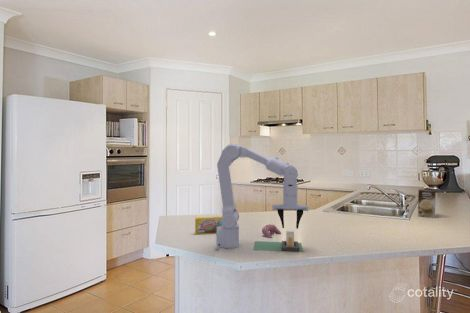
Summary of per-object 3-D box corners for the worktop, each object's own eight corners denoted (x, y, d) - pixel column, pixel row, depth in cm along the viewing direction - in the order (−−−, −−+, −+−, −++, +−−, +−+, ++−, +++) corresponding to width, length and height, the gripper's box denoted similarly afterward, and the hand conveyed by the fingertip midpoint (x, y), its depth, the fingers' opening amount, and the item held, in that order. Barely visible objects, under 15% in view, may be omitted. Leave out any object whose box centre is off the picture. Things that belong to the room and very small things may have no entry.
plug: (286, 250, 124) (286, 234, 124) (286, 246, 129) (286, 231, 129) (294, 250, 124) (294, 234, 124) (293, 246, 129) (293, 231, 129)
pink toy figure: (275, 237, 151) (270, 224, 153) (282, 235, 148) (277, 221, 150) (264, 242, 143) (258, 228, 145) (271, 239, 141) (266, 225, 142)
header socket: (281, 251, 123) (281, 247, 123) (281, 244, 132) (281, 240, 132) (299, 252, 122) (299, 248, 122) (297, 244, 131) (297, 241, 131)
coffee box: (417, 216, 190) (417, 190, 189) (417, 214, 195) (418, 189, 195) (435, 218, 185) (435, 191, 184) (435, 216, 190) (435, 190, 190)
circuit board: (252, 252, 125) (252, 249, 125) (255, 243, 137) (255, 241, 137) (303, 254, 122) (303, 252, 122) (301, 245, 134) (301, 243, 134)
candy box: (195, 234, 151) (195, 218, 151) (195, 233, 153) (195, 217, 153) (227, 233, 154) (227, 216, 154) (227, 231, 156) (227, 215, 156)
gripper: (272, 196, 124) (272, 229, 124) (309, 196, 122) (309, 230, 122) (272, 193, 131) (272, 225, 131) (307, 194, 129) (307, 226, 129)
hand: (290, 227), depth 127 cm, fingers open, 5 cm apart
